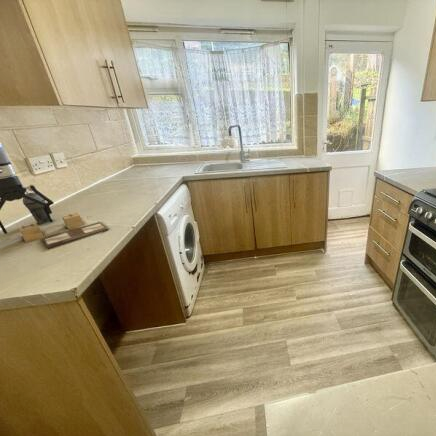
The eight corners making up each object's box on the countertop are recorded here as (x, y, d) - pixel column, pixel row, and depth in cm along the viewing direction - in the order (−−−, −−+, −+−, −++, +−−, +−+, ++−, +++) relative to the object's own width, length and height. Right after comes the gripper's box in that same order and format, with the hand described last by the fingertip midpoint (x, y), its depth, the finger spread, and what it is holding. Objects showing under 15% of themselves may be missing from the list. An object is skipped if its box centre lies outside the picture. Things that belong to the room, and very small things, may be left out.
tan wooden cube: (66, 226, 113) (61, 215, 111) (80, 222, 117) (76, 212, 115) (69, 230, 110) (64, 218, 108) (84, 225, 114) (79, 214, 112)
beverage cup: (56, 223, 117) (36, 183, 108) (36, 228, 112) (13, 187, 104) (55, 219, 121) (35, 180, 113) (35, 224, 117) (13, 184, 108)
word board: (43, 240, 101) (41, 238, 100) (100, 224, 115) (99, 221, 115) (48, 249, 94) (47, 246, 93) (108, 231, 108) (107, 228, 108)
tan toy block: (24, 238, 103) (17, 226, 101) (41, 233, 107) (35, 222, 105) (25, 242, 100) (19, 230, 98) (43, 237, 104) (38, 225, 102)
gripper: (-50, 186, 82) (-16, 241, 91) (48, 171, 100) (69, 218, 108) (-49, 183, 86) (-17, 235, 95) (44, 169, 104) (65, 215, 113)
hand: (29, 226), depth 102 cm, fingers open, 13 cm apart
